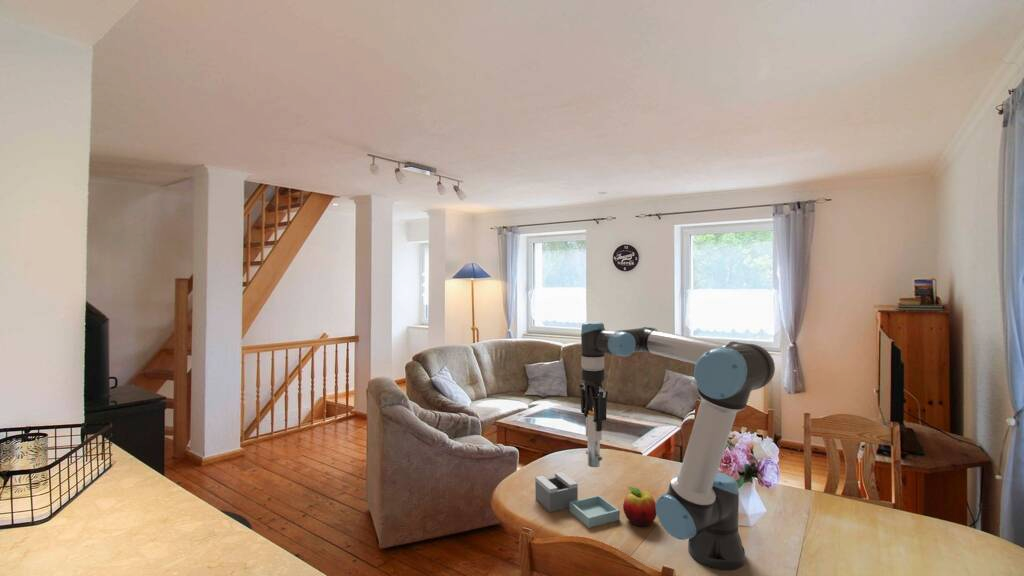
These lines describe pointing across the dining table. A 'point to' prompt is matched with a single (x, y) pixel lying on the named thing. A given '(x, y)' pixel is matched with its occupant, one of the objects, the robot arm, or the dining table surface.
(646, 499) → the fruit
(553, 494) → the block
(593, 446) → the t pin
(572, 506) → the tray
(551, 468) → the dining table surface
